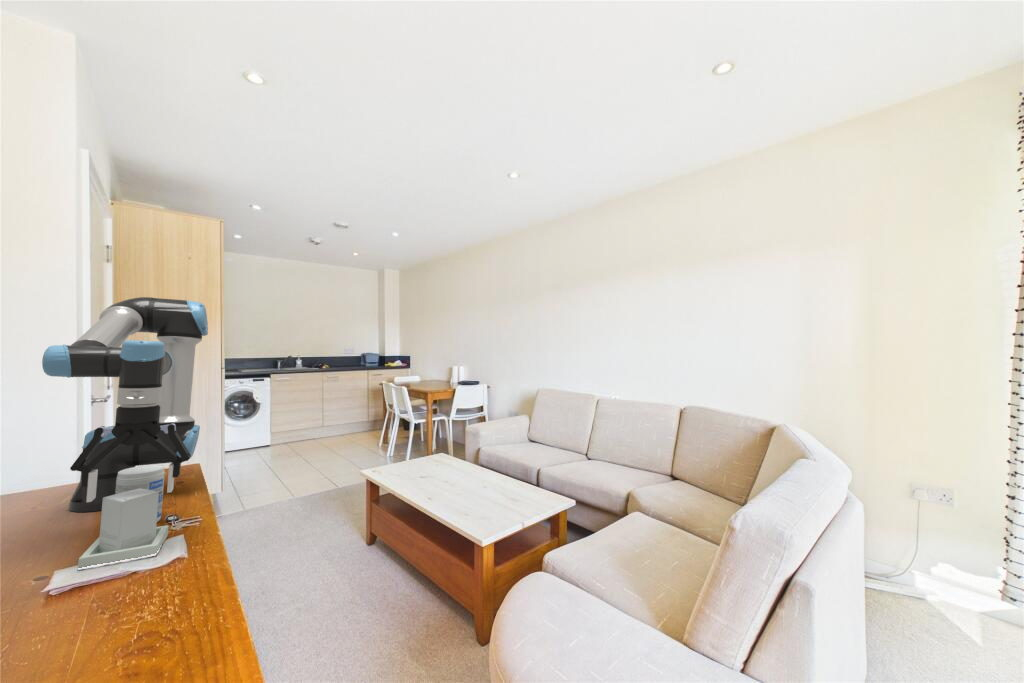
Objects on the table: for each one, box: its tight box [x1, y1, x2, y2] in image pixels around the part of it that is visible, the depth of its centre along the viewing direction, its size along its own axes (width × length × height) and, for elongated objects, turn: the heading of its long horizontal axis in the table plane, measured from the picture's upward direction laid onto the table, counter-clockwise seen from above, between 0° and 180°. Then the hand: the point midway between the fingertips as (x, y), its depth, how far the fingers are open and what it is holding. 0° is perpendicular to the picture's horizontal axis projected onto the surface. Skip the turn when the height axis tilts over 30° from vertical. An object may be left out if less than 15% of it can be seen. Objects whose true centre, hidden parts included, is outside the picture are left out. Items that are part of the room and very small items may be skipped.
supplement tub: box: [115, 464, 166, 523], centre depth 104 cm, size 10×10×15 cm
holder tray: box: [77, 524, 170, 569], centre depth 90 cm, size 12×12×2 cm
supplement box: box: [98, 488, 159, 553], centre depth 90 cm, size 7×7×13 cm
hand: (132, 495), depth 91 cm, fingers open, 13 cm apart
